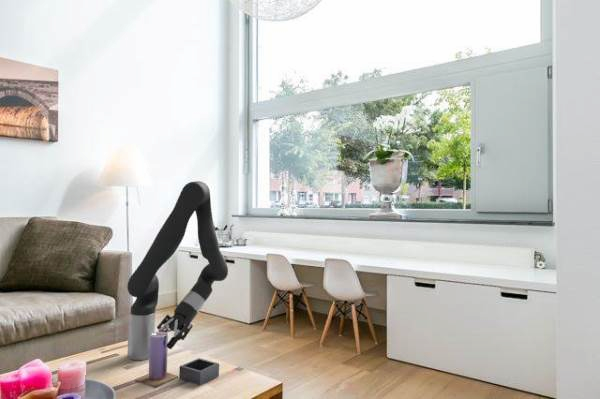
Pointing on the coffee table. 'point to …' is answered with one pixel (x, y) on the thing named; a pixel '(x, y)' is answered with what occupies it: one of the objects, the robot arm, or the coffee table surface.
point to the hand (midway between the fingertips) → (161, 344)
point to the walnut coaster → (156, 383)
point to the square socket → (199, 371)
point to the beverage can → (158, 355)
